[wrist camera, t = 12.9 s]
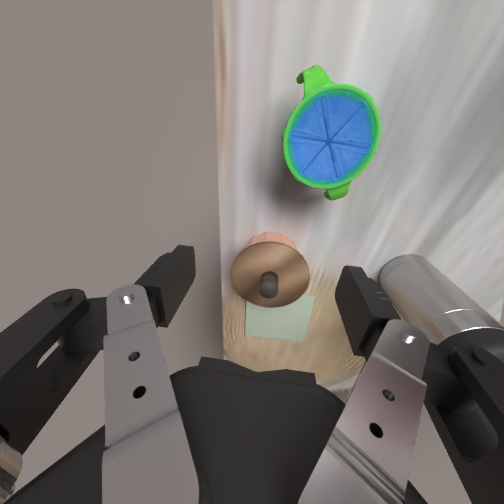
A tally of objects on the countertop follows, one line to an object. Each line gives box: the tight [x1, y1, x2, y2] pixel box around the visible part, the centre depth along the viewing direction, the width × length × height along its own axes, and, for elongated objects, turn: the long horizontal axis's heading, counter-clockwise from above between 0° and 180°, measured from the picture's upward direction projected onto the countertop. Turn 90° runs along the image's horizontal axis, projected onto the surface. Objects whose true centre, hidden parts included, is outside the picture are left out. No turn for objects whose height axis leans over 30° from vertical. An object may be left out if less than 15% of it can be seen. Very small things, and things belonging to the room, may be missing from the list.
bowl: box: [244, 232, 297, 250], centre depth 41 cm, size 11×11×6 cm
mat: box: [245, 294, 315, 342], centre depth 51 cm, size 15×15×1 cm
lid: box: [231, 241, 310, 308], centre depth 36 cm, size 14×14×4 cm
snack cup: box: [282, 65, 381, 200], centre depth 28 cm, size 16×10×10 cm
